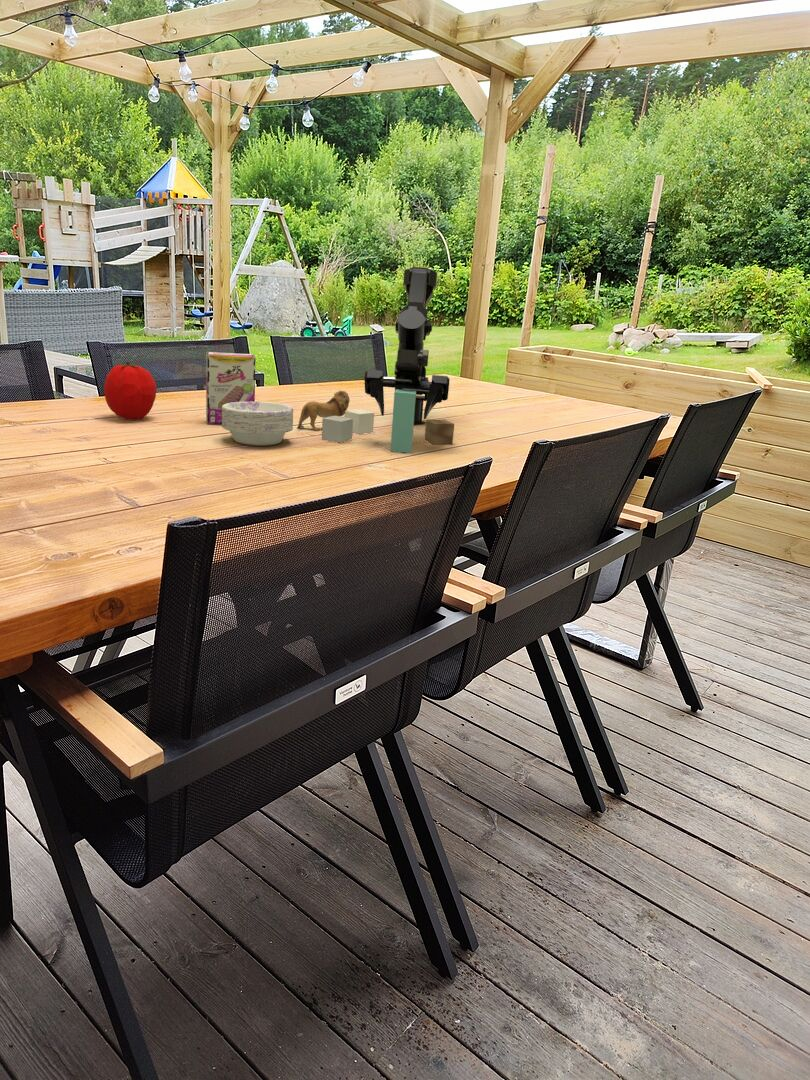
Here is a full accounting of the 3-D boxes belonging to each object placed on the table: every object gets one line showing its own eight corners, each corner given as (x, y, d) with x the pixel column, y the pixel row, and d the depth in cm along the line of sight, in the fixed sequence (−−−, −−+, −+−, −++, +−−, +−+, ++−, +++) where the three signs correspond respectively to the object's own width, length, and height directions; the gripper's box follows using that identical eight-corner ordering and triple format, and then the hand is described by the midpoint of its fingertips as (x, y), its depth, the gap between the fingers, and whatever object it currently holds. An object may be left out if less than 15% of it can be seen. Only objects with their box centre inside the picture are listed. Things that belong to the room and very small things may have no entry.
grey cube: (333, 436, 179) (334, 415, 177) (351, 440, 177) (352, 418, 175) (321, 440, 175) (322, 418, 173) (340, 443, 173) (341, 421, 171)
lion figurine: (340, 424, 193) (342, 388, 190) (353, 428, 189) (355, 392, 186) (290, 428, 184) (291, 391, 181) (303, 433, 180) (304, 394, 177)
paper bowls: (250, 431, 178) (250, 397, 175) (305, 441, 172) (306, 406, 169) (207, 441, 165) (206, 404, 162) (265, 453, 159) (265, 415, 156)
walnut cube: (443, 440, 185) (445, 419, 183) (452, 444, 180) (454, 423, 179) (424, 440, 183) (426, 419, 181) (433, 445, 178) (434, 423, 177)
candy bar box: (207, 425, 181) (206, 354, 175) (206, 421, 185) (205, 351, 180) (255, 425, 184) (256, 355, 179) (252, 421, 189) (253, 353, 183)
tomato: (102, 423, 174) (98, 364, 170) (108, 413, 185) (105, 357, 181) (156, 424, 177) (153, 366, 173) (159, 414, 188) (157, 359, 184)
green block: (391, 447, 172) (395, 389, 168) (411, 449, 172) (416, 390, 168) (390, 451, 168) (394, 392, 164) (410, 453, 168) (415, 393, 164)
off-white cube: (358, 429, 190) (359, 409, 188) (373, 433, 186) (374, 412, 185) (343, 431, 186) (344, 410, 184) (358, 435, 183) (359, 414, 181)
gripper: (367, 332, 167) (359, 390, 160) (453, 338, 167) (448, 397, 160) (369, 365, 177) (361, 420, 170) (449, 371, 177) (445, 427, 170)
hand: (403, 416), depth 167 cm, fingers open, 9 cm apart
